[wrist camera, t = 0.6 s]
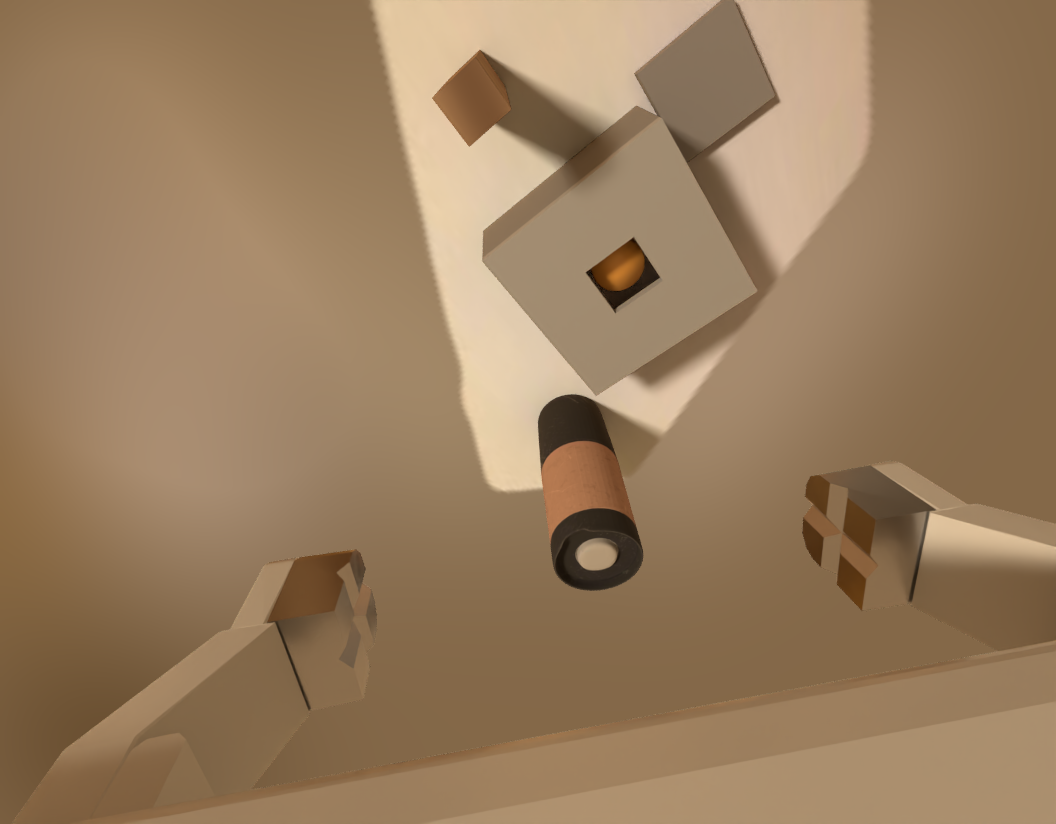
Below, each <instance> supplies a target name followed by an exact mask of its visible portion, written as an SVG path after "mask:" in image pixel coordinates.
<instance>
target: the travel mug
mask: <svg viewBox="0 0 1056 824" xmlns="http://www.w3.org/2000/svg"><path fill="white" fill-rule="evenodd" d="M538 432H539V447H540V462H541V475H542V484H543V491H544V499H545V506H546V514H547V522H548V529H549V537H550V544H551V552H552V560H553V566H554V570H555V572H556V574H557V576H558V577H559V578H560V579H561V580H562V581H563V582H564V583H565V584H567V585H569V586H571V587H574V588H577V589H581V590H589V591H595V590H596V591H597V590H605V589H609V588H613V587H615V586H618V585H620V584H622V583H624V582H626V581H627V580H629V579H630V578H631V577H633V576H634V575H635V574H636V573H637V571H638V570H639V568H640V566H641V564H642V561H643V549H642V546H641V542H640V539H639V535H638V531H637V528H636V524H635V521H634V517H633V514H632V510H631V507H630V503H629V499H628V496H627V492H626V489H625V485H624V482H623V478H622V475H621V471H620V468H619V464H618V460H617V457H616V455H615V452H614V449H613V446H612V443H611V440H610V437H609V435H608V432H607V429H606V426H605V423H604V420H603V418H602V415H601V412H600V410H599V408H598V407H597V405H596V404H595V403H594V402H593V401H591V400H590V399H588V398H586V397H584V396H580V395H564V396H560V397H558V398H555V399H553V400H552V401H550V402H549V403H548V404H547V405H546V406H545V407H544V408H543V410H542V411H541V413H540V416H539V420H538Z"/></svg>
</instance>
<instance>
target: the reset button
mask: <svg viewBox="0 0 1056 824" xmlns="http://www.w3.org/2000/svg"><path fill="white" fill-rule="evenodd" d="M644 264H645V260H644V255H643V253H642V251H641V249H640V248H639V246H638V245H637V243H636V242H635V240H634V239H633V238H632V239H630V240H629V241H628V242H626V243H625V244H624V245H622V246H621V247H620V248H618V249H617V250H615V251H614V252H613V253H611V254H610V255H609V256H607V257H606V258H605V259H603V260H602V261H600V262H599V263H598V264H596V265H595V266H594V267H592V268H591V272H592V274H593V276H594V278H595V280H596V282H597V283H598V284H599V285H600V286H601V287H603V288H605V289H607V290H611V291H620V290H624V289H627V288H629V287H631V286H632V285H633V284H635V283H636V282H637V281H638V279H639V278H640V277H641V275H642V273H643V270H644Z"/></svg>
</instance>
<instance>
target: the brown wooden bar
mask: <svg viewBox="0 0 1056 824" xmlns="http://www.w3.org/2000/svg"><path fill="white" fill-rule="evenodd" d="M432 99H433V100H434V101H435V103H436V104H437V105H438V106H439V108H440V109H441V110H442V112H443V113H444V114H445V116H446V117H447V118H448V120H449V121H450V122H451V124H452V125H453V126H454V127H455V129H456V130H457V131H458V133H459V134H460V135H461V137H462V138H463V139H464V141H465V142H466V143H467V145H468V146H469V147H470V146H471V145H472V144H473V143H474V142H475V141H476V140H478V139H479V138H480V137H481V136H482V135H483V134H484V133H485V132H487V131H488V130H489V129H490V128H491V127H492V126H493V125H494V124H496V123H497V122H498V121H499V120H500V119H501V118H502V117H503V116H505V115H506V114H507V113H508V112H509V111H510V110H511V106H510V103H509V99H508V95H507V92H506V88H505V86H504V84H503V83H502V81H501V80H500V78H499V77H498V75H497V74H496V72H495V71H494V70H493V68H492V67H491V65H490V64H489V62H488V61H487V59H486V58H485V56H484V55H483V53H482V52H481V51H480V50H479V51H478V52H477V53H476V54H475V55H474V56H473V57H472V58H471V59H470V60H469V61H468V62H467V63H465V64H464V65H463V66H462V67H461V68H460V69H459V70H458V71H457V72H456V73H455V74H454V75H453V76H452V77H451V78H450V79H449V80H448V81H447V82H446V83H445V84H444V85H443V87H442V88H441V89H440V90H439V91H438V92H437V93H436V94H435V95H434V97H433V98H432Z"/></svg>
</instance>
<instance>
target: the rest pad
mask: <svg viewBox="0 0 1056 824" xmlns="http://www.w3.org/2000/svg"><path fill="white" fill-rule="evenodd" d="M634 74H635V76H636V78H637V80H638V81H639V83H640V85H641V87H642V89H643V90H644V92H645V94H646V96H647V98H648V99H649V101H650V103H651V105H652V107H653V108H654V110H655V112H656V114H657V116H658V117H660V118H662V119H663V121H664V123H665V125H666V126H667V128H668V130H669V132H670V134H671V135H672V137H673V139H674V141H675V143H676V144H677V146H678V148H679V150H680V152H681V154H682V155H683V157H684V159H685V161H686V163H687V162H689V161H690V160H691V159H693V158H694V157H695V156H697V155H698V154H699V153H701V152H702V151H703V150H705V149H706V148H707V147H708V146H710V145H711V144H712V143H714V142H715V141H716V140H718V139H719V138H720V137H722V136H723V135H724V134H726V133H727V132H728V131H730V130H731V129H732V128H734V127H735V126H736V125H738V124H739V123H740V122H742V121H743V120H744V119H746V118H747V117H748V116H749V115H751V114H752V113H753V112H755V111H756V110H757V109H759V108H760V107H761V106H763V105H764V104H765V103H767V102H768V101H769V100H771V99H772V98H773V97H775V94H774V91H773V89H772V87H771V84H770V82H769V80H768V77H767V75H766V73H765V70H764V68H763V66H762V64H761V61H760V59H759V57H758V54H757V52H756V50H755V47H754V45H753V43H752V41H751V38H750V36H749V34H748V31H747V29H746V27H745V24H744V22H743V20H742V17H741V15H740V13H739V11H738V8H737V6H736V4H735V1H734V0H721V1H720V2H719V3H718V4H716V5H715V6H714V7H713V8H712V9H710V10H709V11H708V12H707V13H706V14H704V15H703V16H702V17H701V18H700V19H699V20H697V21H696V22H695V23H694V24H693V25H691V26H690V27H689V28H688V29H687V30H685V31H684V32H683V33H682V34H681V35H680V36H678V37H677V38H676V39H675V40H674V41H672V42H671V43H670V44H669V45H668V46H666V47H665V48H664V49H663V50H662V51H660V52H659V53H658V54H657V55H656V56H655V57H653V58H652V59H651V60H650V61H649V62H647V63H646V64H645V65H644V66H643V67H641V68H640V69H639V70H638V71H637V72H636V73H634Z"/></svg>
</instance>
